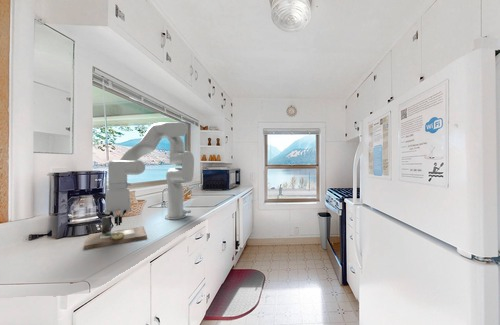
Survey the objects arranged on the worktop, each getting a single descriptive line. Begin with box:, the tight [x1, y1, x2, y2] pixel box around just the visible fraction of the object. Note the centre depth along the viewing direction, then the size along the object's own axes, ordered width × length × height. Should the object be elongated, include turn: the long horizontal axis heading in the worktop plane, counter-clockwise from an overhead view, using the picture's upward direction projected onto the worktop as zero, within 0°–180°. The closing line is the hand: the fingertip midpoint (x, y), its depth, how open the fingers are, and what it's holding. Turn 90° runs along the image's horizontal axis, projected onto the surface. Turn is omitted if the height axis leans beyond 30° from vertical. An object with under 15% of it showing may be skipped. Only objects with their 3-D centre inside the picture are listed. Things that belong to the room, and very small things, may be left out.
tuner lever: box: [101, 215, 124, 240], centre depth 91 cm, size 16×4×7 cm, turn 55°
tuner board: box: [83, 226, 148, 250], centre depth 92 cm, size 22×16×2 cm
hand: (118, 224), depth 97 cm, fingers closed
